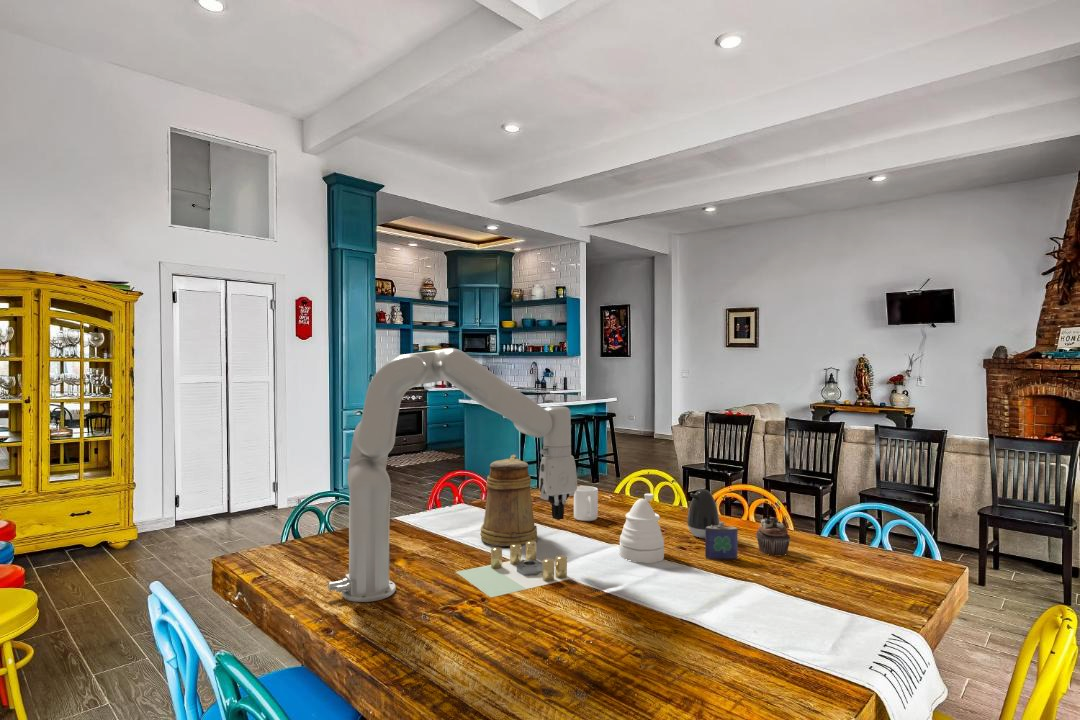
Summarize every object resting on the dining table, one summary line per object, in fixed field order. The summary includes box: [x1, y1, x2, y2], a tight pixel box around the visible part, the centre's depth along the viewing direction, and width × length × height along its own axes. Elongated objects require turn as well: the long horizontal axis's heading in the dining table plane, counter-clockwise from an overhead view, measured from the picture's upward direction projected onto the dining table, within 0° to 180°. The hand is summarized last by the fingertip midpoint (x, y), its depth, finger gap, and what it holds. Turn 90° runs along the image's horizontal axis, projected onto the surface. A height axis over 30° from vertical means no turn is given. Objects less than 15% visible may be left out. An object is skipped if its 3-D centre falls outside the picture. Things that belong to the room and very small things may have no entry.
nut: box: [517, 558, 543, 576], centre depth 162 cm, size 6×7×2 cm
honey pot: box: [619, 493, 665, 563], centre depth 178 cm, size 13×13×18 cm
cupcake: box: [755, 517, 791, 556], centre depth 182 cm, size 10×10×10 cm
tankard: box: [480, 454, 538, 547], centre depth 195 cm, size 18×24×25 cm
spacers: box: [490, 540, 568, 582], centre depth 162 cm, size 14×18×5 cm
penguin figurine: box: [686, 488, 721, 539], centre depth 197 cm, size 10×10×15 cm
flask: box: [704, 521, 739, 561], centre depth 176 cm, size 9×3×11 cm, turn 88°
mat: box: [455, 557, 573, 598], centre depth 159 cm, size 24×20×1 cm
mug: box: [573, 485, 599, 522], centre depth 217 cm, size 9×12×11 cm
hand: (557, 518), depth 166 cm, fingers closed
